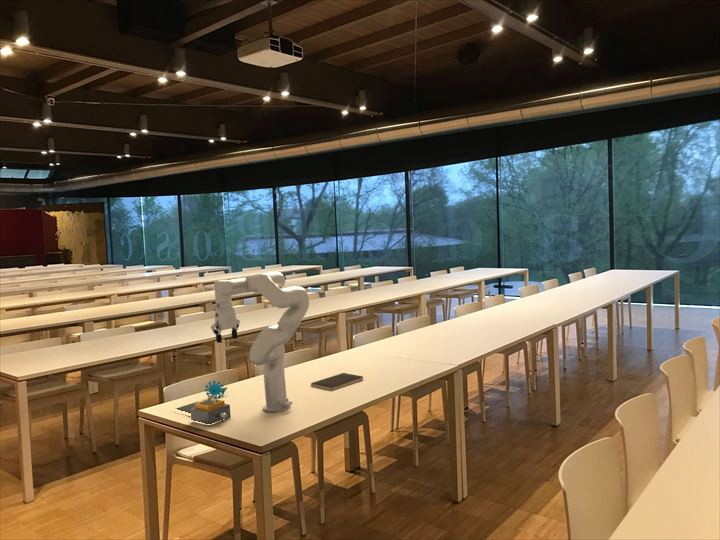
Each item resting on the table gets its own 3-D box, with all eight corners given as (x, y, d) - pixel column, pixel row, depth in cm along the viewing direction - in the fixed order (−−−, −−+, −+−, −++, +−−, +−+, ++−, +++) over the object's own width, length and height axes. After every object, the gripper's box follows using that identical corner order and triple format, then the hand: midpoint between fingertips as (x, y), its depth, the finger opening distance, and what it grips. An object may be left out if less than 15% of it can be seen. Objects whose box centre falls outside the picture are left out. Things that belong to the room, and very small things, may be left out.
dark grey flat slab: (220, 406, 269) (191, 415, 259) (220, 410, 270) (191, 420, 259) (198, 400, 283) (169, 408, 273) (198, 403, 284) (170, 412, 273)
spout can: (219, 418, 255) (217, 394, 255) (210, 422, 251) (208, 397, 251) (211, 417, 258) (209, 393, 258) (203, 420, 254) (201, 396, 254)
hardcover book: (363, 380, 304) (363, 376, 304) (331, 391, 288) (331, 387, 288) (343, 376, 315) (342, 372, 315) (311, 387, 299) (310, 382, 299)
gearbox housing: (236, 418, 254) (235, 401, 253) (215, 427, 244) (213, 409, 244) (213, 414, 263) (211, 396, 263) (191, 422, 254) (189, 404, 253)
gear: (205, 397, 285) (204, 380, 292) (204, 403, 289) (202, 386, 296) (228, 396, 290) (226, 379, 296) (226, 402, 293) (224, 385, 300)
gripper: (214, 308, 268) (218, 344, 269) (242, 302, 282) (245, 337, 283) (204, 308, 272) (207, 343, 273) (232, 302, 286) (235, 336, 287)
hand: (227, 340), depth 278 cm, fingers open, 9 cm apart
